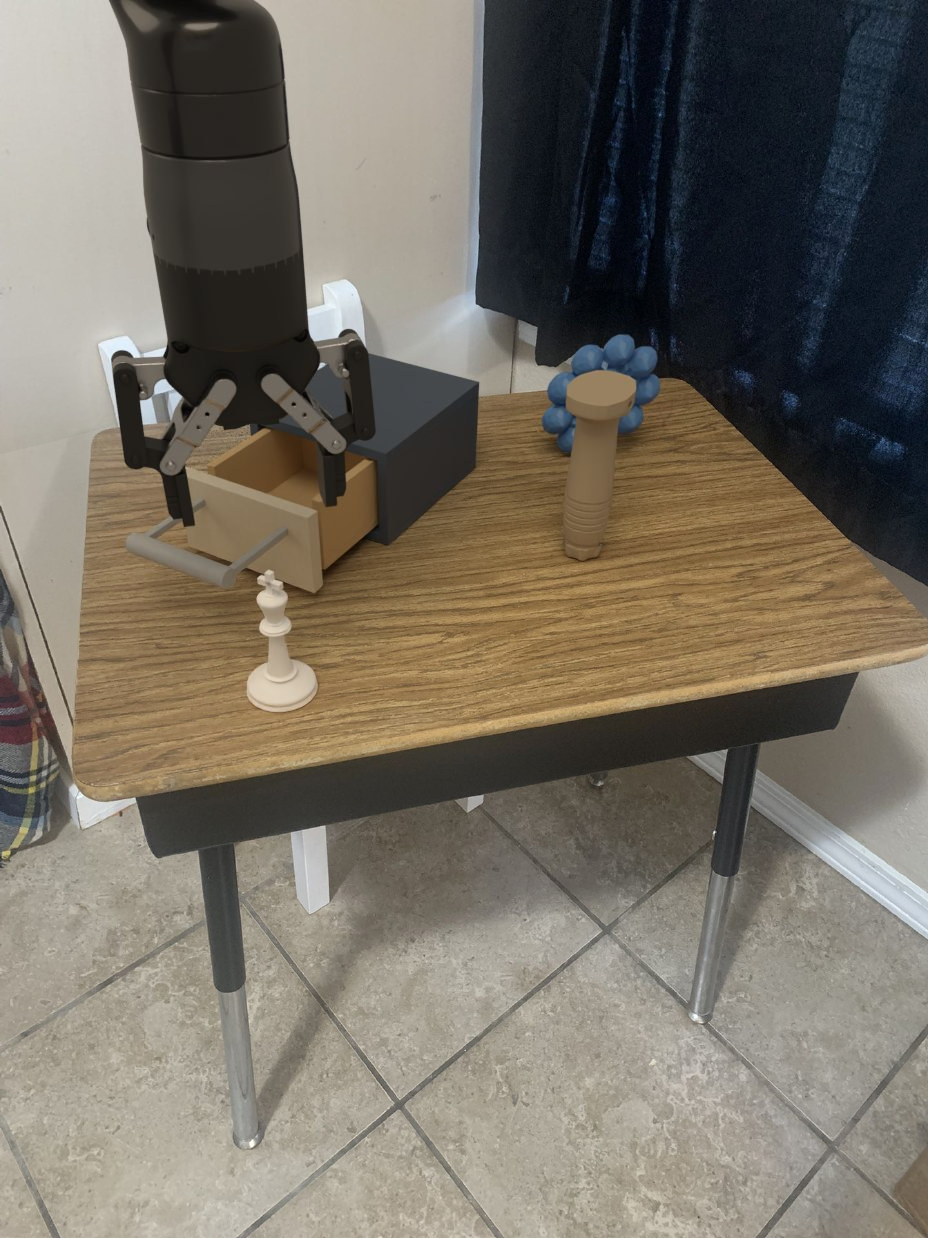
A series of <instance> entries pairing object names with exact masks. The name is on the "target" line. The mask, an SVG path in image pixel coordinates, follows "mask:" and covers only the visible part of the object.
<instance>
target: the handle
mask: <svg viewBox="0 0 928 1238" xmlns="http://www.w3.org/2000/svg"><path fill="white" fill-rule="evenodd" d="M635 394H636V381H635V380H634V379H633V378H631V377H629V376H627V375H624V374H621V373H617V372H613V371H606V370H596V371H592V372H588V373H585V374H582V375H579V376H577V377H576V378H575V379H573V380H572V381H571V382H570V383H569V384H568V386H567V393H566V410H567V411H569V412H570V413H571V414H572V415H574V416H575V417H577V419H576V427H575V433H574V440H573V446H572V452H571V453H570V458H569V463H568V468H567V469H568V470H567V475H566V481H565V485H564V486H565V487H564V495H563V505H562V533H563V537H562V543H563V547H564V552H565V555H566V556H567V557H568V558H574V559H576V560H578V561H580V562H585V561H586V560H589V559H592V558H593V559H594V558H597V557H598V556H600V554H601V551H602V547H603V542H602V540H603V539H604V537H605V534H606V531H607V527H608V522H609V519H610V513H611V509H612V501H613V495H614V484H615V483H614V482H615V468H616V455H617V446H618V445H617V444H618V435H619V434H618V425H619V419H620V418H622V417H624V416H626V415H628V414H629V412H630V411H631V408H632V406H633V404H634V401H635Z"/></svg>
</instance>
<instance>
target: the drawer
mask: <svg viewBox="0 0 928 1238" xmlns="http://www.w3.org/2000/svg"><path fill="white" fill-rule="evenodd" d="M185 468H186V473H187V478H188V484H189V490H190V496H191V502H192V508H193V514H194V520H195V526H190V527H185V532H186V538H187V542H188V543H187V544H188V547H190V548H191V549H192V548H193V549H195V550H197V551H200V552H203V553H206V554H208V555H210V556H214V557H216V558H219V559H222V560H224V561H227V562H229V563H231V564H229V565H226V564H223V563H220V562H218V561H215V560H213V559H210V558H208V557H204V556H202V555H199V554H196V553H194V552H191V551H188V550H186V549H183V548H181V547H178V546H175V545H172V544H170V543H168V542H164V541H162V540H160V539H158V538H159V537H161V536H162V535H164V534H165V533H167V532H168V531H170V530H171V529H173V528H174V527H176V526H177V525H179V524H180V523H183V521H182V519H175V520H173V518H172V517H171V516H170V515H169V516H168V517H166V518H165V519H163V520H162V521H161V522H159V523H158V524H156V525H155V526H153V527H151V528H150V529H149V530H147V531H146V532H144V533H141V532H138V531H134V532H131V533H130V534H129V535H128V536H127V538H126V539H125V543H124V545H125V549H126V551H127V552H129V553H130V554H131V555H134V556H137V557H141V558H143V559H145V560H148V561H150V562H153V563H155V564H158V565H161V566H163V567H166V568H169V569H171V570H173V571H175V572H178V573H181V574H184V575H185V576H189V577H191V578H194V579H196V580H199V581H201V582H204V583H206V584H209V585H212V586H215V587H217V588H218V589H219V588H220V589H223V590H225V591H227V590H228V591H229V590H230V589H231V588H233V587H234V585H235V584H236V582H237V577H238V574H240V573H242V571H243V570H245V569H248V570H250V571H253V572H256V573H259V574H261V575H264V573H265V572H266V571H267V570H271V571H274V577H275V580H278V581H281V582H283V583H286V584H288V585H292V586H294V587H297V588H299V589H302V590H304V591H307V592H310V593H312V594H315V593H316V592H317V591H318V590H320V589H321V588H322V587H323V586H324V582H323V581H324V580H323V570H327V569H328V568H329V567H331V565H333V564H334V563H335V562H336V561H337V560H338V559H339V558H340V557H342V556H343V555H344V554H345V553H346V552H347V551H349V550H350V549H351V548H352V547H354V546H355V545H356V544H357V543H358V542H359V541H361V540H362V539H363V538H365V537H364V536H365V535H366V534H367V533H368V532H370V531H371V530H372V529H373V528H374V527H375V526H377V525H378V524H379V504H378V469H377V460H374V459H370V458H367V457H364V456H361V455H357V454H354V453H351V452H348V451H345V472H346V491H345V494H344V496H340V497H337V506H332V507H325V505H324V503H323V500H322V498H321V495H320V490H319V480H318V467H317V453H316V442H315V441H312V440H308V439H305V438H302V437H299V436H295V435H292V434H289V433H286V432H282V431H279V430H276V429H273V428H269V427H265V428H264V429H262V430H260V431H259V432H257V433H256V434H254V435H252V436H251V435H250V436H249V437H248V438H246V439H244V440H243V441H241V442H240V443H238V444H237V445H235V446H234V447H232V448H230V449H228V450H226V451H225V452H224V453H222V454H221V455H219V456H218V457H215V459H213V460H212V461H210V462H207V464H206V468H207V472H204V471H201V470H198V469H195V468H191V467H188V466H185Z"/></svg>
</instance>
